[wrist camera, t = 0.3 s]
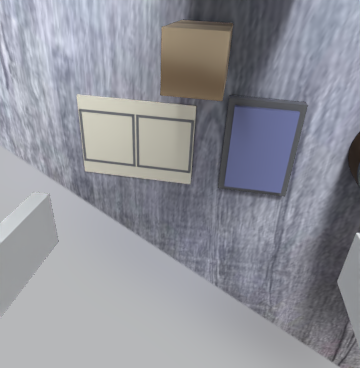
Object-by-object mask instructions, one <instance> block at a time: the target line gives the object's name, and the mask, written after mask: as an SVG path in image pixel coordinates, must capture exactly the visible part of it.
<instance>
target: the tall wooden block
mask: <svg viewBox="0 0 360 368" xmlns="http://www.w3.org/2000/svg"><path fill="white" fill-rule="evenodd" d="M232 30H233V23H228V22H212V21H197V20H180V21H177V22H174V23H172V24H169V25H166V26H163V27H162V36H161V92H160V95H162V96H173V97H183V98H194V99H205V100H216V101H222V100H223V95H224V90H225V84H226V79H227V73H228V64H229V56H230V47H231V39H232Z"/></svg>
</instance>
